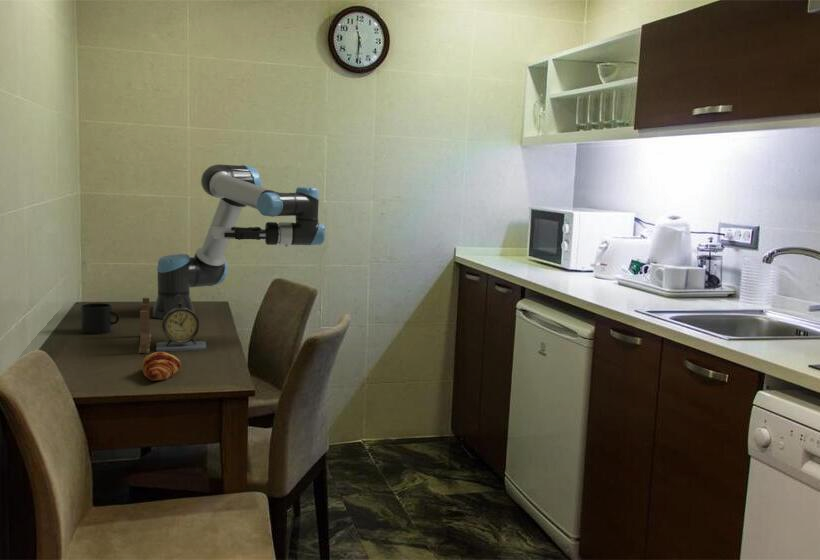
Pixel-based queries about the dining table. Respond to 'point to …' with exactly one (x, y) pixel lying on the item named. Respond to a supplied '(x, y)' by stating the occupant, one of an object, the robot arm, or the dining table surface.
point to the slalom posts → (145, 328)
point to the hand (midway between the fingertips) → (212, 232)
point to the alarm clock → (180, 324)
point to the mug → (97, 318)
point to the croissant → (160, 366)
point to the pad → (181, 346)
